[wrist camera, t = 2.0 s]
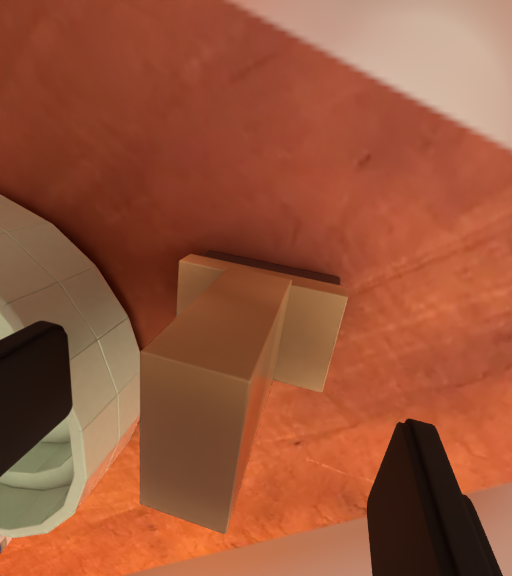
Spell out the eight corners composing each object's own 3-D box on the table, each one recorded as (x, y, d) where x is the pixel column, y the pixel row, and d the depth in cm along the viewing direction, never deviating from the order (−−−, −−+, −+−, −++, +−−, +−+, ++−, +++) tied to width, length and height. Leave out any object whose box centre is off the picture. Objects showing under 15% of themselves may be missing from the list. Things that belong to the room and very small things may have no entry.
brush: (197, 329, 15) (69, 480, 8) (205, 239, 14) (51, 327, 6) (323, 361, 14) (307, 565, 7) (348, 268, 13) (360, 411, 5)
